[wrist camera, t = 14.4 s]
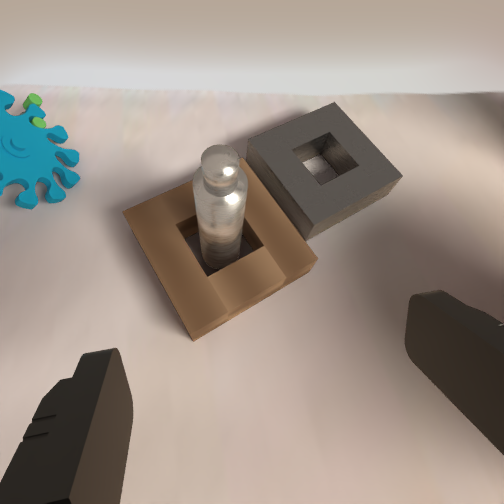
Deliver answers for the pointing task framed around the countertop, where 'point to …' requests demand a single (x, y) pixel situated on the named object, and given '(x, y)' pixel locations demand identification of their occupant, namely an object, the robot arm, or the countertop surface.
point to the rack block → (231, 277)
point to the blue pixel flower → (33, 152)
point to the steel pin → (220, 205)
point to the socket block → (338, 156)
